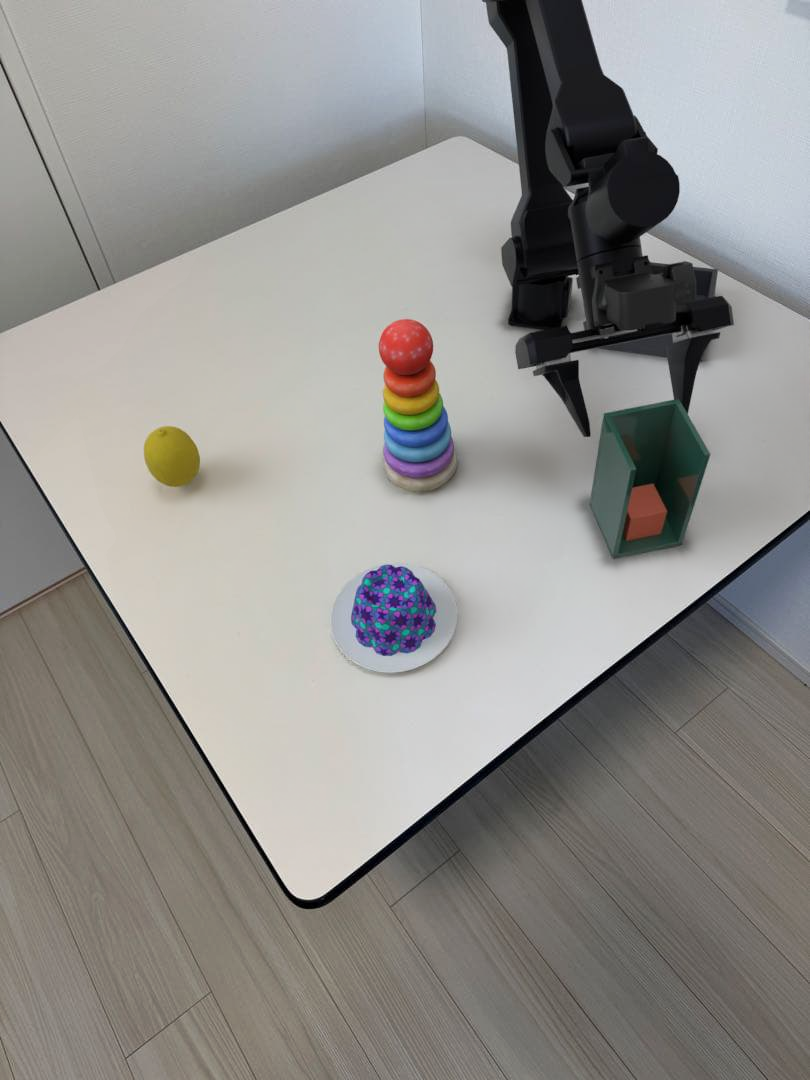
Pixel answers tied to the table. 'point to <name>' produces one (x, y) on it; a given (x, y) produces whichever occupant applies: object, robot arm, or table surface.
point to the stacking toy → (414, 411)
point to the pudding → (393, 617)
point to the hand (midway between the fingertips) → (635, 427)
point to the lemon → (171, 456)
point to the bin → (703, 291)
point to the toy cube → (644, 513)
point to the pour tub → (647, 472)
